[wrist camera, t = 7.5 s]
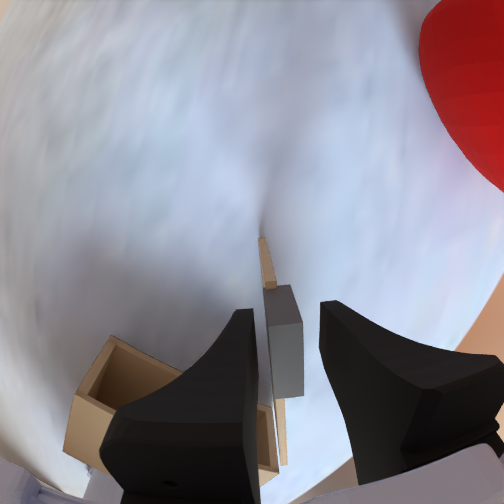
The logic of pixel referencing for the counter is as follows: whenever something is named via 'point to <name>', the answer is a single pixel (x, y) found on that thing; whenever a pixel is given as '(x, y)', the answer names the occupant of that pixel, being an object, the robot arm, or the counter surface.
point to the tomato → (468, 78)
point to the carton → (128, 390)
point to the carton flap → (282, 343)
